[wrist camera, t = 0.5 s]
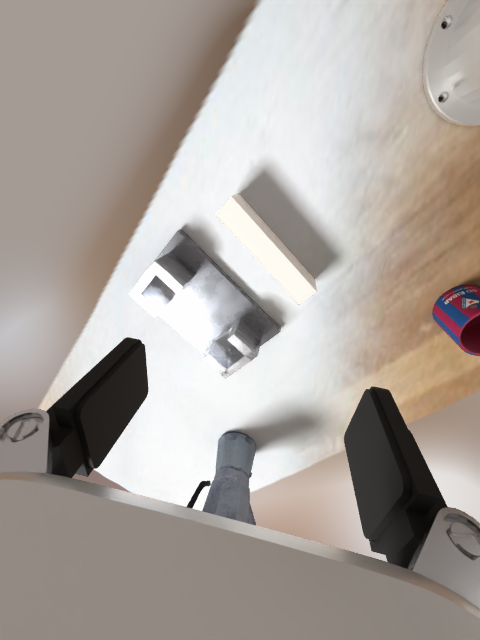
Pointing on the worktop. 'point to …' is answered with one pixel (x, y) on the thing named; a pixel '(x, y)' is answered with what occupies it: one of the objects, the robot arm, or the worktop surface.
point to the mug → (460, 317)
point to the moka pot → (230, 479)
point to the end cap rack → (204, 305)
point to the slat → (266, 248)
